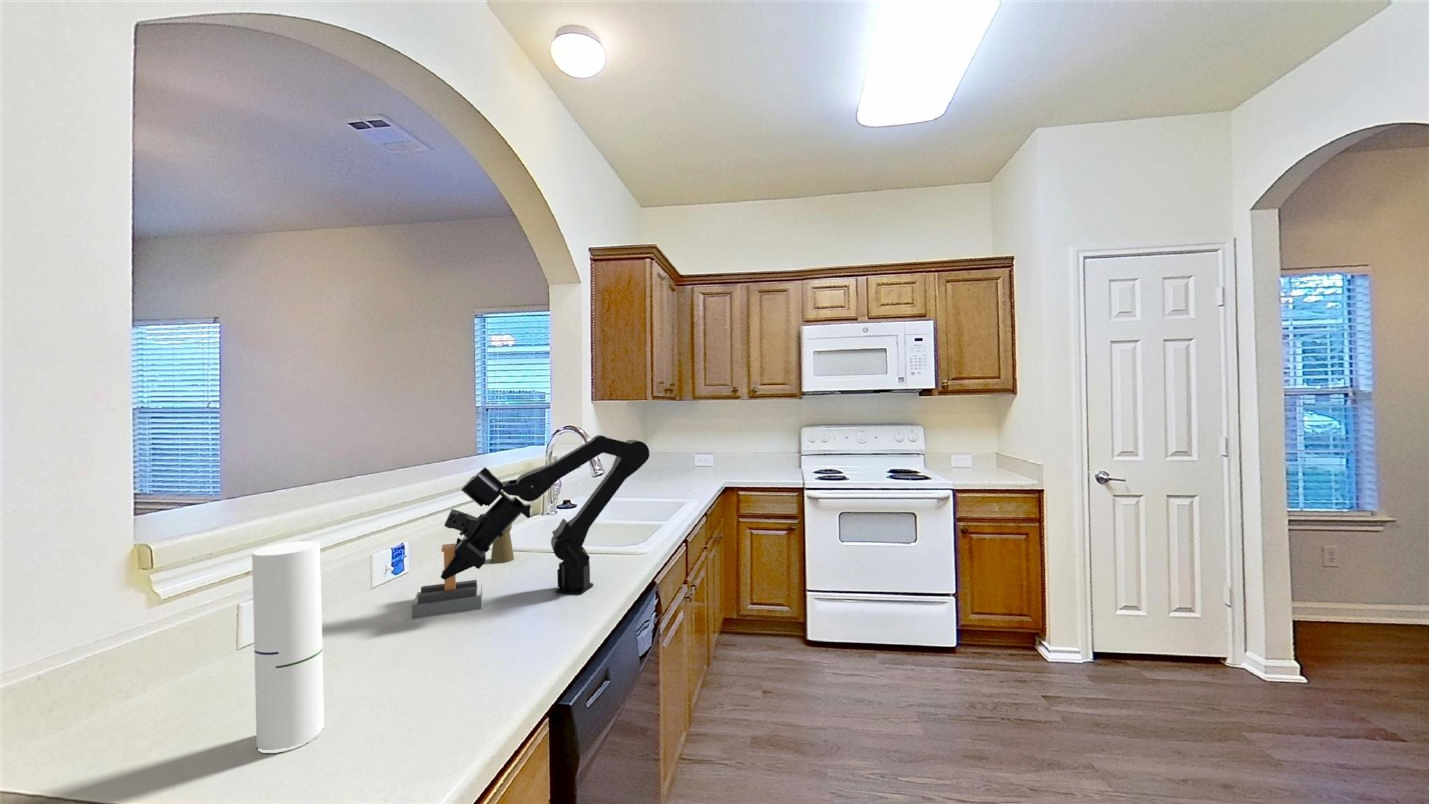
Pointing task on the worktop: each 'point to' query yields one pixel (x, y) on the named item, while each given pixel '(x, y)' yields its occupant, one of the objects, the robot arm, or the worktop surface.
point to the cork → (502, 548)
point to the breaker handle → (448, 556)
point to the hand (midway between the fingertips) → (442, 576)
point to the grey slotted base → (447, 599)
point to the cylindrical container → (287, 644)
